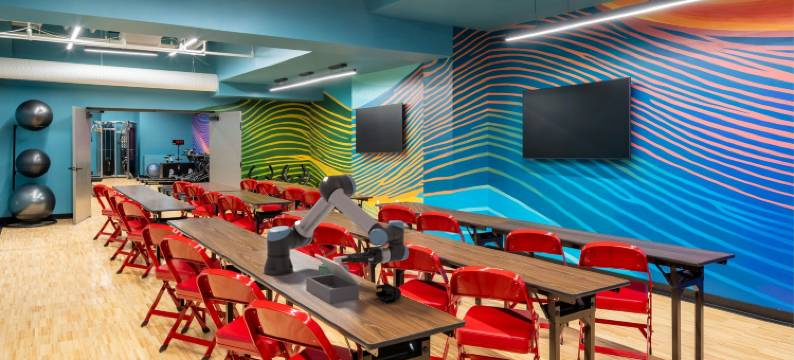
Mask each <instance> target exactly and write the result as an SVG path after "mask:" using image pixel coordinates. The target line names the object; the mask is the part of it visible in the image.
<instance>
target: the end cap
mask: <svg viewBox="0 0 794 360" xmlns="http://www.w3.org/2000/svg"><path fill="white" fill-rule="evenodd" d="M375 290H380V291H376V292H375V296H376V300H378V301H379V302H382V303H384V304H385V305H391V304H395V303H397V301H399V300H400V299H401V297H402V291H401V289H400V288H399V287H397V286H395V285H393V284H391V283H388V282H383V284H377V285H376V286H375Z"/></svg>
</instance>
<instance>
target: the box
mask: <svg viewBox="0 0 794 360" xmlns="http://www.w3.org/2000/svg"><path fill="white" fill-rule="evenodd" d="M341 265H342V266H343V267H344V268H345V269H346V270H347V271H348V272H349V273H350V271H349V270H350V269H349V268H350V267H349V265H347V264H341ZM329 274H334V273H333V272H332V271H331V270H330V269H329V268H328V267H327V266H325V265H324V264H323V263H321V264H319V265H318V275H317V276H321V275H329ZM335 275H336V274H335ZM340 277H341V276H340ZM342 278H343V277H342ZM344 279H345V278H344ZM346 280H347V279H346Z"/></svg>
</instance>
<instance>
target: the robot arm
mask: <svg viewBox="0 0 794 360" xmlns="http://www.w3.org/2000/svg"><path fill="white" fill-rule="evenodd" d="M318 192H319V194H320V197H319V199H318V200H317V201H316V203H314V205H313V206H312V207H311V209H310V210H308V212H307V213H306V214H305V215H304V216H303V217H302V219H301V220H300V219H298V220H297V221H295V222H294V223H293V225H291V227H290V226H286V225H281V226H280V225H279V226H274V227H271V228H269V229H268V230H267V232H266V235H267V236H266V252H267V253H266V260H265V263H264V266H263V274H265V275H270V276H282V275H283V276H284V275H289V274H292V273H294V266H293V262H292V258H291V250H295V249H302V248H304V247H306V246H309V244H311V242H312V240H313V235H314V230H315V229H316V228H317V227H318V226H319V225H320V223H322V222H323V220H325V218H326V217H327V216H328V215H329V214H330V213H331V211H332V210H333V209H334V208H336V209H338V211H340V212H341V213H342V214H343V215H344V216H345V217H347V218H348V219H349V220H350V221H351V222H353V224H354V225H356V226H357V227H359V229H360V230H362V231H363V232H364V233H365V234H366V235H368V240H369V241H370V243H371V244H372V246H376V247H371V248H369V250H368V252H367V251H363V252H360V251H358V252H353V253H347V254H344V255H343V256H342V255H341V256H335V257H332V258H333V259H332V261H334V262H337V263H339V264H348V263H349V264H350V263H351V264H360V263H362V264H363V263H371V265H375V264H383V265H384V264H385V263H391V262H400V261H404V260H407V259H408V258H409V255H410V251H409V247H408V246H407V245H406V244H405V243H404V242H405V226H404V225H405V223H404V221H403V220H397V219H396V220H395V219H394V220H389V221H388V224H387V226H383V225H382V224H381V223H379V222H378V221H377V220H376V219H375V218H373V216H371V215H370V214H369V213H368V212H367V211H365V210H364V209H363V208H362V207H361V206H359V205H358V204H357V203H356V202H355V201H354V200H353V199H351V197H353V196H354V195H355V194H356V192H357V184H356V181H355V179H354V178H353V177H352V176H351V175H349V174H337V175H336V174H335V175H334V174H333V175H327V176H324V177H323V178H322V179H321V180H320V182H319V185H318ZM386 244H387V245H386ZM383 245H386V246H383ZM378 246H379V247H378Z"/></svg>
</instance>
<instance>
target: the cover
mask: <svg viewBox="0 0 794 360" xmlns="http://www.w3.org/2000/svg"><path fill="white" fill-rule="evenodd" d="M314 256H315V257H316V258H317V259H318V260H319V261H320V262H321V264H324V265H325V266H327V267H328V268H329V269H330V270H331V271H332V272H333V273H334V274H336V275H338V276H341V277H343V278H345V279H347V280H348V281H351V282H353V283H355V284H357V285H359V286H360V284H361V283H360V282H359V281H358V279H356V278H355V277H354V276H353V275H352V274H351V272H350V271H349V272H348V271H347V270H346V269H345V268H344V267H343V266H342V265H343V264H342V263H337V262H334V261H333V259H329V258H327V257H325V256H322V255H320V254H318V253H315V254H314Z"/></svg>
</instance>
